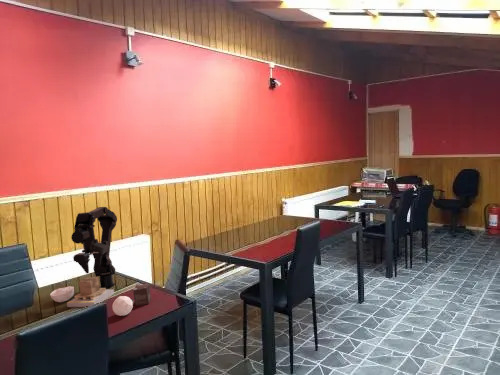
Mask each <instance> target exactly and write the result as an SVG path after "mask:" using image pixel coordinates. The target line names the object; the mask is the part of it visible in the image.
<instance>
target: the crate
mask: <svg viewBox="0 0 500 375" xmlns="http://www.w3.org/2000/svg"><path fill="white" fill-rule="evenodd" d="M78 285H79V291H80V292H79V293H81V294H93V293H95V292H96V291H98V290H100V288H99V287H100V280H99V276H97V277H96V276H94V277H93V276H91V277H85V278H84V279H82V280H80V281H78Z"/></svg>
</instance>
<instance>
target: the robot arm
mask: <svg viewBox="0 0 500 375" xmlns="http://www.w3.org/2000/svg"><path fill="white" fill-rule="evenodd" d="M96 220H97V221H98V222H99V226H100V228H101V237H100V242H99V241H98V238H96V235H95V229H94V228H95V224H94V223H96ZM117 221H118V217H117V214H116V213H115V212H114V211H112V210H111V209H108V207H107V206H101V207H100V206H99V207H96V208H95V209H93V210H90V211H87V212H79V213H78V214H77V215H76V217H75V222H74V231H73V232H72V234H71V236H70V238H71V241H72V242H73V243H74V244H77V245H78V244H81V245H82V246H83V248H82V250H81V252H78V253H76V254H74V255H73V256H72V258H73V262H75V263H78V265H79V266H80V267H81V268H82V270H83V271H84V272H85V274H90V267H89V262H90V260H91V258H90V256H92V257H93V259H94V262H93V266H92V267H93V272H94V275H95V277H99V288H106V289H111V288H112V287H114V286H115V285H117V283H116V282H114V278H113V275H115V274H116V268H115V266H114V265H113V262H112V259H111V258H110V252H111V250H110V249H111V242H112V234H113V230H114V229H115V228H116V225H117Z"/></svg>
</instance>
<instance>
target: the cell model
mask: <svg viewBox="0 0 500 375" xmlns="http://www.w3.org/2000/svg"><path fill="white" fill-rule="evenodd" d="M49 296H50V297H51V299H52V300H53V301H55V302H56V303H64V302H68V301H70V299H71V298H72V297H74V296H75V287H74V286H71V285H70V286H66V287H61V288H60V287H59V288H56V289H54V290H53V291H52V292H51V293H50V294H49Z"/></svg>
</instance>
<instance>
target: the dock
mask: <svg viewBox="0 0 500 375" xmlns="http://www.w3.org/2000/svg"><path fill="white" fill-rule="evenodd" d="M105 291H106V292H104V293H103V294H101V295H100V296H98V297H97V298H95V299H94V300H91V297H89V298H88V299H86V300H83V297H82V298H81V299H79V300H76V299H75V297H74V298H72V299H71V300H68V301H66V306H67V308H85V307H86V306H90V305H93V304H96V303H99V304H101V303H103V301H105V300H106V299H108V298H109V297H111V296H113V295H114V294H115V289H111V288H106V290H105ZM100 302H101V303H100ZM86 308H87V307H86Z"/></svg>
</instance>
